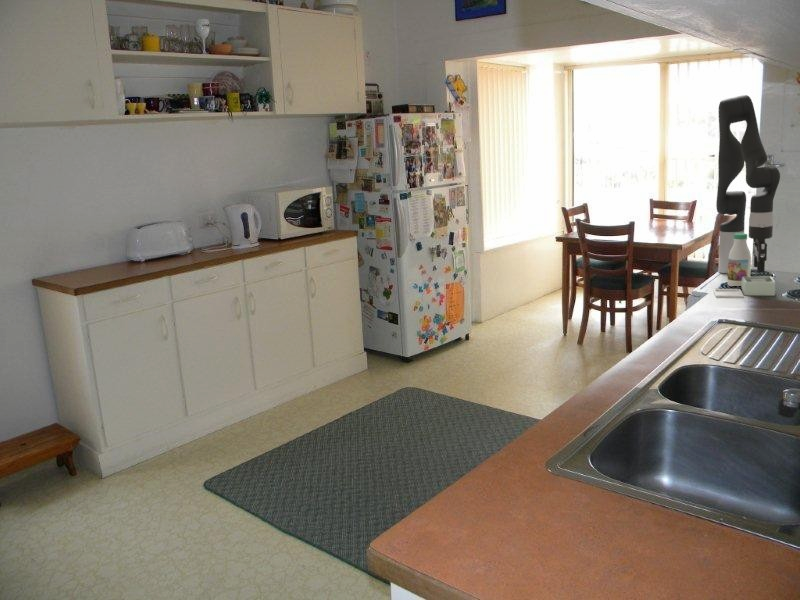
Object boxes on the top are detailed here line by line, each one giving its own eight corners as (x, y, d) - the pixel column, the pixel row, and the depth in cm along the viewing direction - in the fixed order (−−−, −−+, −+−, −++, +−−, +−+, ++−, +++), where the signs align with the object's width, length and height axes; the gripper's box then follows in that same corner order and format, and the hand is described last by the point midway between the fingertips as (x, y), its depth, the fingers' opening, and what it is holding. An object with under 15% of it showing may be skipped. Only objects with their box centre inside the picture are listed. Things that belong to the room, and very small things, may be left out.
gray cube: (749, 291, 253) (750, 279, 252) (763, 291, 251) (764, 279, 250) (751, 294, 249) (752, 281, 248) (765, 294, 247) (766, 281, 246)
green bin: (741, 290, 256) (741, 276, 255) (770, 290, 253) (771, 276, 252) (744, 296, 247) (745, 282, 246) (774, 296, 244) (775, 282, 243)
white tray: (713, 292, 257) (713, 288, 257) (739, 292, 254) (740, 288, 254) (715, 298, 247) (715, 295, 247) (743, 299, 244) (743, 295, 244)
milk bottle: (733, 283, 269) (734, 232, 264) (753, 285, 263) (755, 233, 258) (723, 287, 264) (725, 234, 259) (744, 289, 258) (746, 236, 253)
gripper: (746, 222, 252) (744, 265, 256) (751, 227, 239) (750, 273, 243) (769, 221, 250) (767, 265, 253) (776, 227, 237) (774, 273, 240)
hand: (758, 269), depth 248 cm, fingers open, 8 cm apart
